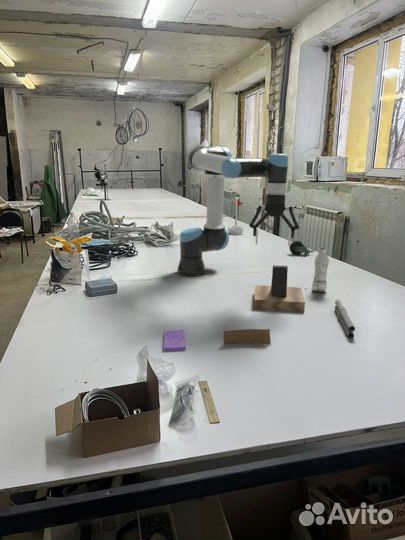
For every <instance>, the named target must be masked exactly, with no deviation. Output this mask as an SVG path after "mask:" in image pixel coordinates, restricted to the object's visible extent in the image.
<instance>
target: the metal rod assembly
mask: <svg viewBox="0 0 405 540" xmlns="http://www.w3.org/2000/svg"><path fill="white" fill-rule="evenodd" d="M334 303H335V306H334V310H335V312H336V315H337V317H338V318H337V319H338V320H339V321H340V323H341V325H342V328H343V329H344V331H345V333H346V336H347V338H348V339H353V338H355V333H354V332H355V331H356V327H355V326H354V323H353V322H352V320H351V318H350V316H349V315H348V312H347V309H346V308H345V307H344V306H343V304H342V302H341V300H340V299H336V300H335V301H334Z"/></svg>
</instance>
